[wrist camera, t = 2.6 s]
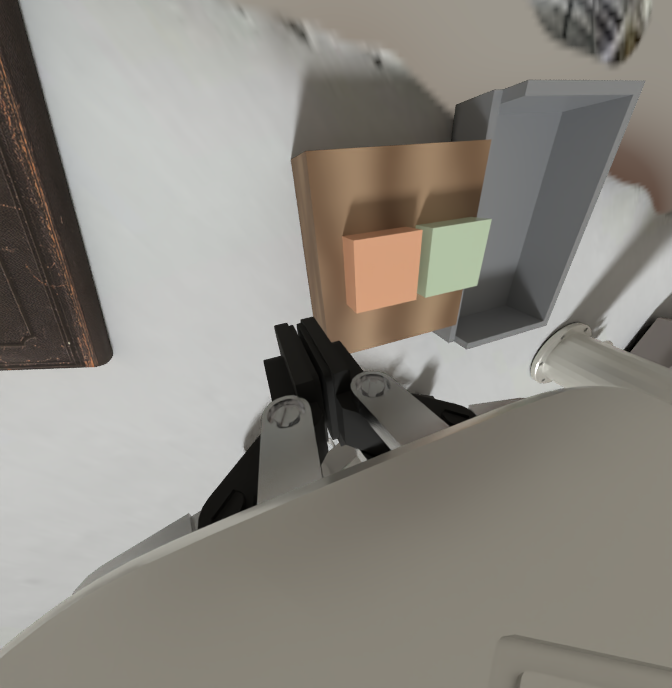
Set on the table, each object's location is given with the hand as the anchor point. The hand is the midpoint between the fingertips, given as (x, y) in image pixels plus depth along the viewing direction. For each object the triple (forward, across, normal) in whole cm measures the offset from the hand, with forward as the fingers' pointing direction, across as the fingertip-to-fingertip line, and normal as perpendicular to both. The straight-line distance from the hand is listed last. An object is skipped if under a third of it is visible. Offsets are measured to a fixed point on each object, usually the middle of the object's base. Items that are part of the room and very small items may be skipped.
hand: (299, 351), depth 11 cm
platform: (+15, -11, 0) cm, 19 cm away
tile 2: (+10, -9, 0) cm, 13 cm away
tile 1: (+10, -15, 0) cm, 18 cm away
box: (+15, -26, 0) cm, 30 cm away
